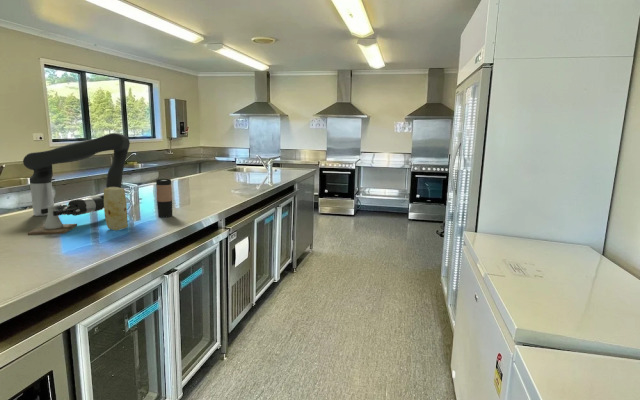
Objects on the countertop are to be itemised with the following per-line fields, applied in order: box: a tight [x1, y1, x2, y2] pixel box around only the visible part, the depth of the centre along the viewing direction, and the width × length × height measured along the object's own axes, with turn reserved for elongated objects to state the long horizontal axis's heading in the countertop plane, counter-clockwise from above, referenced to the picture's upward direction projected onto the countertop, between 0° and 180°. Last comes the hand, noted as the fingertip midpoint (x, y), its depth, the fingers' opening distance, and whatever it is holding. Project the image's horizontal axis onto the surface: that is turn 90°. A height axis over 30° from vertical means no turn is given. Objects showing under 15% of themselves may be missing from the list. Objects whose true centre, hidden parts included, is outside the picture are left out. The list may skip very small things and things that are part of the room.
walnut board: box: [27, 223, 78, 236], centre depth 169 cm, size 14×14×1 cm
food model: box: [103, 187, 129, 232], centre depth 171 cm, size 10×7×20 cm
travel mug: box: [155, 178, 173, 218], centre depth 200 cm, size 8×8×20 cm
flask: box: [43, 205, 64, 229], centre depth 168 cm, size 7×7×10 cm
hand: (47, 212), depth 166 cm, fingers open, 8 cm apart
